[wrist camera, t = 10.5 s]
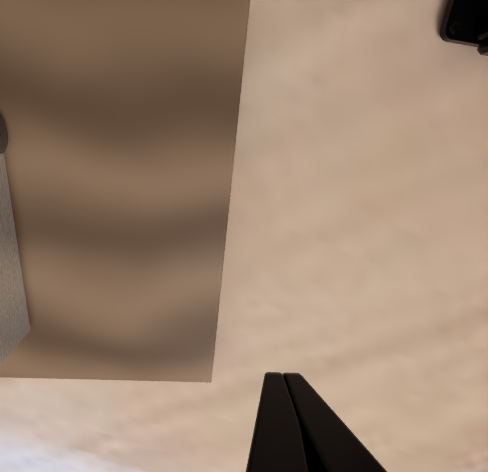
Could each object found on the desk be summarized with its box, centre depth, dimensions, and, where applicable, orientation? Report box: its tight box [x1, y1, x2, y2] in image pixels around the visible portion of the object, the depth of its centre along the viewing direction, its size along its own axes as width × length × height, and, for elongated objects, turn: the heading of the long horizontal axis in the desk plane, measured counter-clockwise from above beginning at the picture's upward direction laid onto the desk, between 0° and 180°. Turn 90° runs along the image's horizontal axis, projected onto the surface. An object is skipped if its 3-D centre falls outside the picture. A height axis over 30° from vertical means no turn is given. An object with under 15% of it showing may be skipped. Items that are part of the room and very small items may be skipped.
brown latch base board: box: [0, 0, 250, 382], centre depth 15 cm, size 22×18×5 cm
